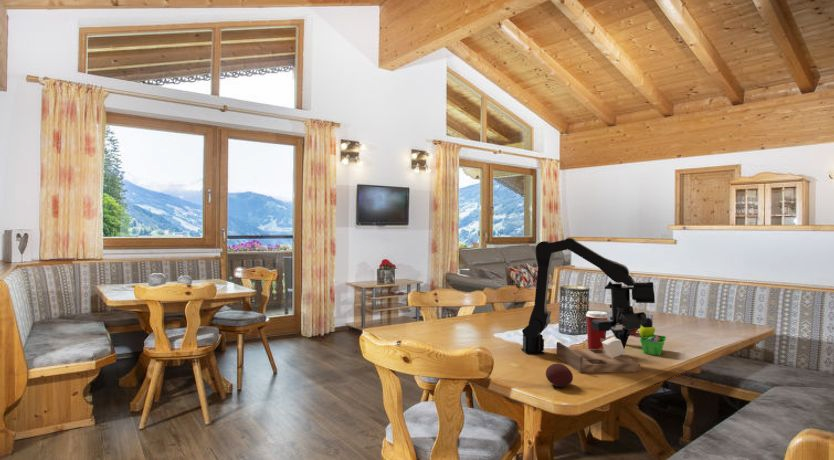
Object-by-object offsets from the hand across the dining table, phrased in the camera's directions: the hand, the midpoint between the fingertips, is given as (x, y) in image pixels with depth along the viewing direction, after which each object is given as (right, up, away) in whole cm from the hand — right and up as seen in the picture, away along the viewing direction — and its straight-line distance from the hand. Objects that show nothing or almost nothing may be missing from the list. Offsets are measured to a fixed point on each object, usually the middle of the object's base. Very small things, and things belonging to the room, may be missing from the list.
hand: (622, 349), depth 161 cm
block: (-3, -1, 0) cm, 3 cm away
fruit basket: (+17, -5, +16) cm, 24 cm away
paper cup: (-3, -5, +15) cm, 16 cm away
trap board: (-9, -5, -1) cm, 10 cm away
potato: (-28, -5, -23) cm, 36 cm away
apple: (+22, -5, +44) cm, 50 cm away
